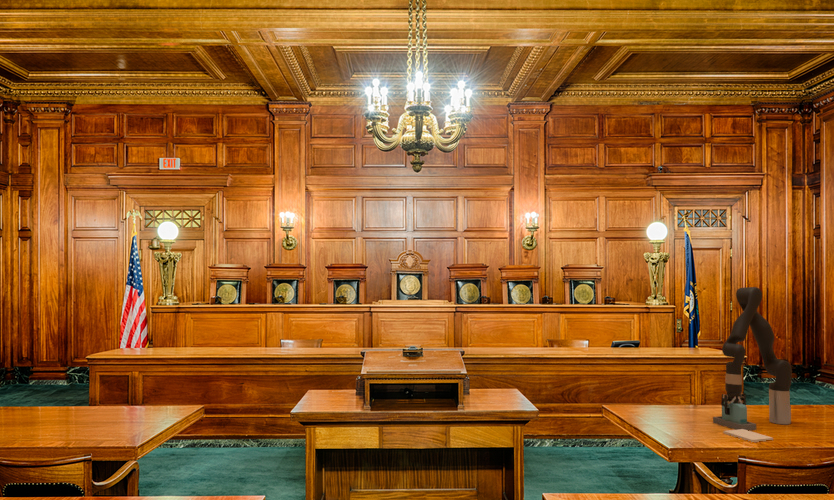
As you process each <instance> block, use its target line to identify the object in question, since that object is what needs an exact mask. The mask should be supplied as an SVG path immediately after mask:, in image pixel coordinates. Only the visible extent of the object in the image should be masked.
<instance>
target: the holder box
mask: <svg viewBox="0 0 834 500" xmlns="http://www.w3.org/2000/svg"><path fill="white" fill-rule="evenodd" d="M712 424H716V425H719V426H722V427H726V428H729V429H731V430H738V429H745V430H749V431H757V423H754V422H751V421H748V420H747V424H738V423H734V422H731V421H727V420H724V419H722V415H721V416H712Z"/></svg>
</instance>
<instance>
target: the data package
mask: <svg viewBox="0 0 834 500" xmlns="http://www.w3.org/2000/svg"><path fill="white" fill-rule="evenodd" d="M724 404H725V402H724ZM727 405H728V404H727ZM729 408H730V415H726V414H725V407H724V406H721V416H722V419H724V420H727V421H731V422H734V423H738V424H747V421H748V408H747V404H746V405H744V404H740V403H736V402H735V403H733V404H732V405H730V407H729Z"/></svg>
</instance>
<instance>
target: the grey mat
mask: <svg viewBox="0 0 834 500" xmlns="http://www.w3.org/2000/svg"><path fill="white" fill-rule="evenodd" d="M722 432H723V434H724V435H727V436H730V435H731V437H733V436H734V438H736V437H738V438H737V439H740V438H742V439H741V440H743V439H744V440H743V441H746V440H748V441H747V442H749V441H751V442H750V443H752V442H754V443H760V442H759V441H763V442H767V441H766V440H772V441H774V437H772V436H768V435H764V434H761V433H758V432H755V431H753V430H749V431H748V430H745V429H738V430H736V429H730V430H723V431H722Z"/></svg>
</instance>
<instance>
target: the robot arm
mask: <svg viewBox="0 0 834 500" xmlns="http://www.w3.org/2000/svg"><path fill="white" fill-rule="evenodd" d="M735 296H736V300H737V302H738V304H739V306H740V308H741V310H742V313H741V314H739V316H737V318H736V319H735V320H734V323H733V325H732V328H731V331H730V335H729V336H728V337H727V339H726V340H725V342H724V343H723V345H722V348H721V349H722V350H721V351H722V354H723V356H725V357H727V358H733V361H728V362H726V364H725V378H724V379H725V382H724V384H725V391H726V393H722V394H721V401H720V402H721V403H720V404H721V405H720V406H721V407H722V406H724V407H725V414H726V415H730V408H729V407H730V405H732V404H733V403H735V402H736V403H740V404H744V405H746V406H747V399H746V398H747V397H746V396H747V395H746V394H745V393H743V375H742V366H743V363H744V359H745V356H746V348H745V347H744V346H743V345H742V344H739V343H741V342H745V340H746V337H747V334H748V332H749V328H750V329H751V333H752V335H753V337H754V339H755V342H756V344H757V347H758V350H759V351H760V355H761V358H762V362H763V363H762V364H763V366H764V368H765V371H766V373H768V375H770V376H773V377H775V380H774V381H773V382H770V383H769V385H768V404H769V405H768V408H769V409H768V411H769V413H768V414H769V416H768V417H769V419H768V421H769V423H773V424H777V425H790V424H791V423H792V406H791V404H790V402H791V401H790V399H791V398H790V395H791V394H790V388H791V386H792V375H793V374H792V373H793V372H792V371H793V370H792V365H791V363H790V362H789V361H787V360H784V359H778V358H777V356H776V354H775V351H774V347H773V346H774V342H775V333H774V330H773V328H772V326H771V324H770V323H769V322H768V321H767V319H766V318H765V317H763V316H762V315H761V313H759V312H758V309H759V306H760V305H761V304H762V300H763V292H762V290H761V289H760V288H759V287H756V286H750V287H749V286H748V287H744V286H743V287H739V288H738V289H737V290H736V293H735ZM724 402H725V404H724ZM727 404H728V405H727Z"/></svg>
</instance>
